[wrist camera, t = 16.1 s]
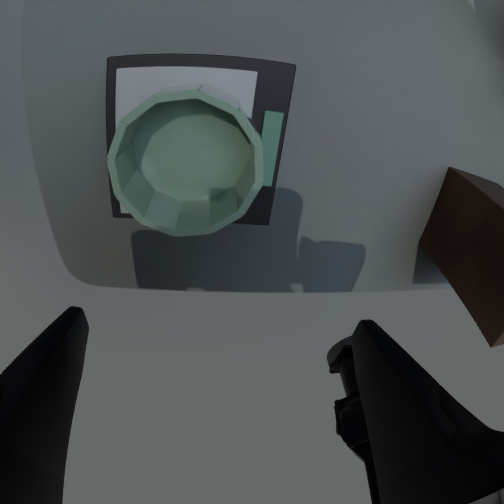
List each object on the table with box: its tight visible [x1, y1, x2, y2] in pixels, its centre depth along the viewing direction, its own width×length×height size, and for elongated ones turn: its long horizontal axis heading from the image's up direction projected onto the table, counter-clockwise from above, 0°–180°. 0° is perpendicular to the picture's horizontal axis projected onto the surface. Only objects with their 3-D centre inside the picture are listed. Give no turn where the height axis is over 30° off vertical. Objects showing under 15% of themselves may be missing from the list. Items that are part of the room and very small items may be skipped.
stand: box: [419, 167, 504, 347], centre depth 18 cm, size 8×8×12 cm
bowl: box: [107, 83, 264, 237], centre depth 14 cm, size 7×7×4 cm
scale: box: [106, 54, 296, 225], centre depth 16 cm, size 10×10×3 cm
